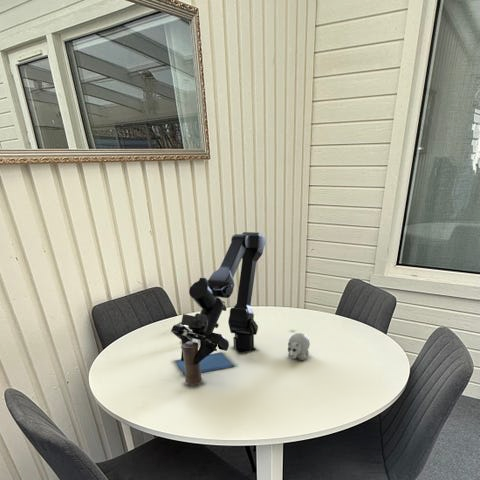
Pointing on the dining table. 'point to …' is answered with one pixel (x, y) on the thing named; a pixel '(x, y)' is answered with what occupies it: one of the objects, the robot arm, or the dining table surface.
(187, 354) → the pepper mill
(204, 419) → the dining table surface
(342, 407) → the dining table surface
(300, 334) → the grey bear figurine
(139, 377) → the dining table surface
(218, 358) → the napkin
